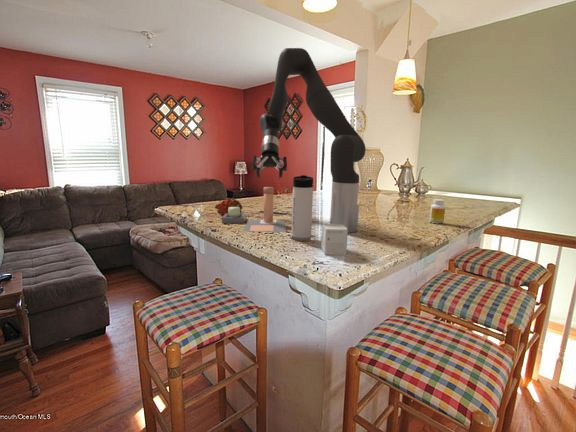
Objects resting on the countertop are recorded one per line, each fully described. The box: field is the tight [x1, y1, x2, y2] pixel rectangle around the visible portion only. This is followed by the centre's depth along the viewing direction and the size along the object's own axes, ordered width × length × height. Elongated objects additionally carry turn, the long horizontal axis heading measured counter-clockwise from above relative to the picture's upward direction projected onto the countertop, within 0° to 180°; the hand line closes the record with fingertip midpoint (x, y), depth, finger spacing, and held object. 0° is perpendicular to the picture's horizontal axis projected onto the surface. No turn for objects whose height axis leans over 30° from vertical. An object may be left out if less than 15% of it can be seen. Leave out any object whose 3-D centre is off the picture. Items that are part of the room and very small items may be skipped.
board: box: [243, 219, 286, 233], centre depth 111 cm, size 14×18×1 cm
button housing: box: [221, 213, 247, 224], centre depth 117 cm, size 8×8×3 cm
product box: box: [320, 223, 349, 256], centre depth 86 cm, size 6×6×7 cm
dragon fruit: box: [214, 197, 243, 215], centre depth 130 cm, size 8×8×12 cm
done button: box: [228, 207, 241, 217], centre depth 117 cm, size 4×4×4 cm
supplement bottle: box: [428, 198, 446, 224], centre depth 126 cm, size 5×5×10 cm
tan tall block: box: [263, 186, 275, 223], centre depth 116 cm, size 4×4×13 cm
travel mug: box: [291, 174, 314, 242], centre depth 97 cm, size 6×7×20 cm
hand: (269, 176), depth 125 cm, fingers open, 8 cm apart
